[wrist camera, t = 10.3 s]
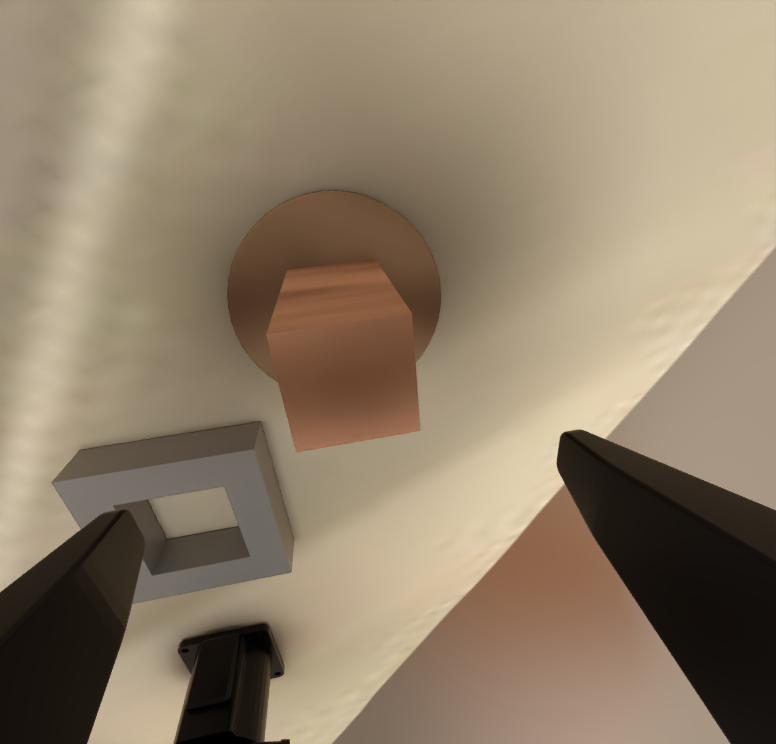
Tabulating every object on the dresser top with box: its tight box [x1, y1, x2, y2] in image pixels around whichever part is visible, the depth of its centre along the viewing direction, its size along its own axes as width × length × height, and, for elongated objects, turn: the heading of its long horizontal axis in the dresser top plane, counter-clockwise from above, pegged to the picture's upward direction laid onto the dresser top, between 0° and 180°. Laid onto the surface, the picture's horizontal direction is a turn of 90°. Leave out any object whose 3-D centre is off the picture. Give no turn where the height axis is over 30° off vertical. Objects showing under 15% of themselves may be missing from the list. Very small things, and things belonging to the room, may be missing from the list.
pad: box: [227, 191, 441, 382], centre depth 19 cm, size 10×10×1 cm
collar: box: [52, 422, 294, 604], centre depth 23 cm, size 10×10×2 cm
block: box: [266, 259, 420, 452], centre depth 15 cm, size 4×4×8 cm
